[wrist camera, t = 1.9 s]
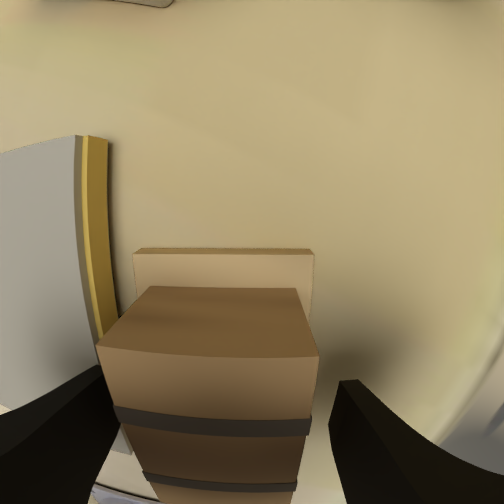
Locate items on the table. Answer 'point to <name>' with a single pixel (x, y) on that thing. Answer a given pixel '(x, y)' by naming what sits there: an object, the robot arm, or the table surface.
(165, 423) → the cardboard box
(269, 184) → the table surface
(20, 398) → the dock
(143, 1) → the ink box
